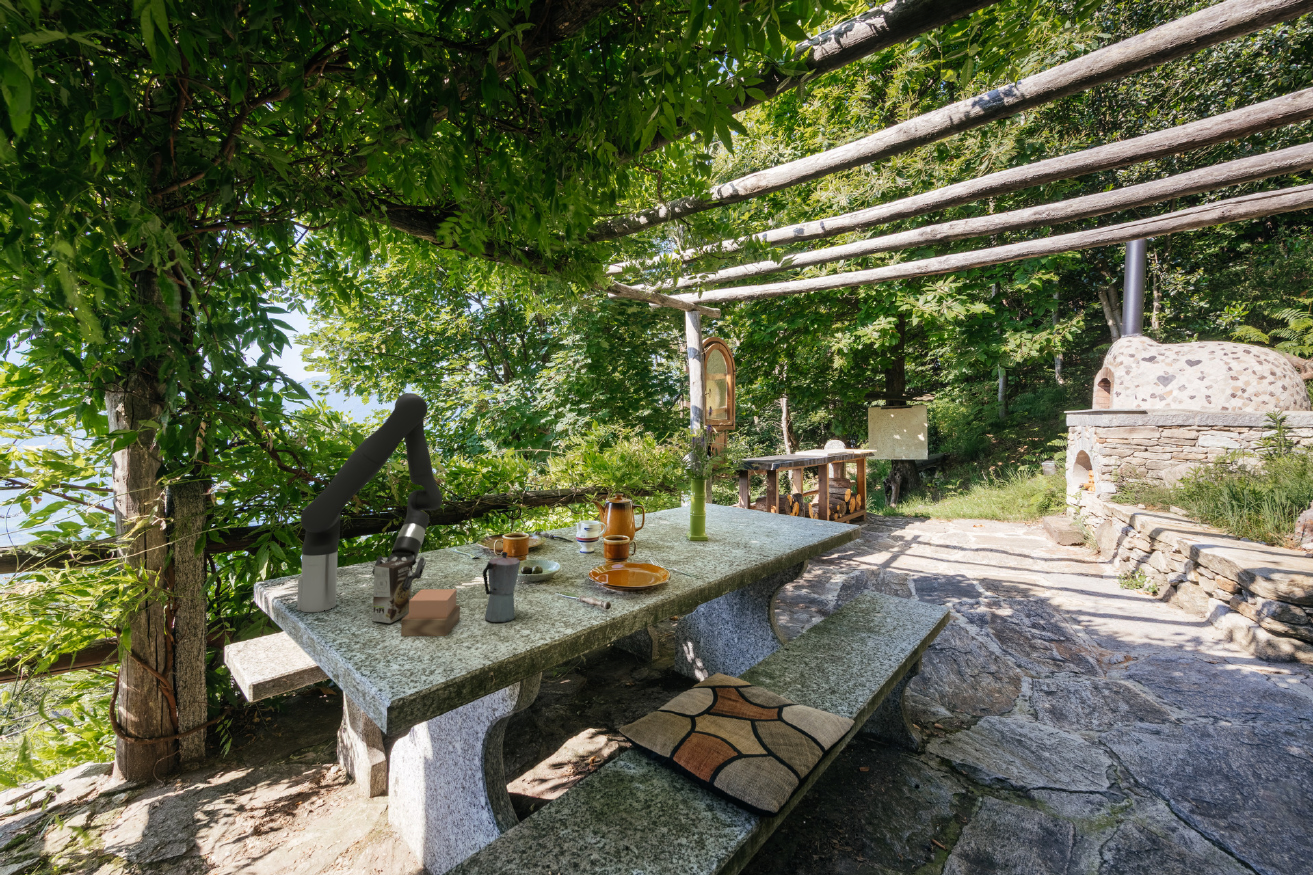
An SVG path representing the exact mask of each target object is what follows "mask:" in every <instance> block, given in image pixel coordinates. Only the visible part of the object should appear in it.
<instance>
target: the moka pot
mask: <svg viewBox="0 0 1313 875" xmlns="http://www.w3.org/2000/svg"><path fill="white" fill-rule="evenodd" d="M501 554H502V557H497V558H491V559H490V560H488V561H487V564H486V567H485V568H484V569H483V571H482V577H483V583H484V589H485V594H486V595H489V596H488V601H487V605H486V610H485V615H484V619H485V620H486V621H488V622H491V623H505V622H509V621H512V620H514V619H515V616H516V615H515V614H516V613H515V597H514V592H515V587H516V585H517V581H518V575H519V570H520V565H521V560H519V558H516V557H508V552H506V551H503V552H502V553H501ZM487 573H488V575H487Z"/></svg>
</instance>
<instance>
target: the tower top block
mask: <svg viewBox="0 0 1313 875" xmlns="http://www.w3.org/2000/svg"><path fill="white" fill-rule="evenodd" d="M456 605H457V589H455V588H454V589H453V588H451V589H450V588H449V589H448V588H445V589H443V588H442V589H439V588H437V589H436V588H435V589H434V588H431V589H430V588H429V589H428V588H426V589H422V588H421V589H420V590H419V591H418V592H416V594H414V595H413V597H412V596H411V599H410V600H409V619H428V618H447V617H448V616H449V615H450V613H451V612H452V611H453V609H454V608H455V607H456Z"/></svg>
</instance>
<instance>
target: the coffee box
mask: <svg viewBox="0 0 1313 875" xmlns="http://www.w3.org/2000/svg"><path fill="white" fill-rule="evenodd" d="M412 565H413V561H410V560H407V561H402V560H397V561H389V562H386V563H383V564H380V565H377V566H375V565H374V566H375V572H374V575H373V576H374V577H373V592H372V593H373V595H372V596H373V598H372V599H373V600H372V618H371V620H372V622H380V623H386V624H392V623H394V622H395V621H398V620H400V619H402V618H404V617H405V616H406V615H407V614H408V613H409V600H410V599H411V598H412V587H413V586H412V585H413V583H412V584H411V586H410V589H409V590H407V591H403V589H402V588H403V585H404V582H405V579H406V577H408V575H407V573H408V571H409V567H410V569H411V571H412V572H413V566H414V565H413V566H412Z"/></svg>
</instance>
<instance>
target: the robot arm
mask: <svg viewBox="0 0 1313 875" xmlns="http://www.w3.org/2000/svg"><path fill="white" fill-rule="evenodd" d="M428 408H429V407H428V404H427V402H426V401H425V399H424V398H422V397H421V396H420V395H418V394H416V393H413V392H412V393H411V392H407V393H406V392H405V393H404V394H401V395H400V396H399V397H398V398H397V399H396V401H395V403H394V408H393V410H392V411H391V414H389V416H388V418H387V419H386V420H385V422H384V423H383V424H382V425H381V426H379V428H378V429H377V430H375V431H374V432H373V433H371V434H370V435H369V436H368V437H367V438H366V439H364V440H363V441H362V442H361V443H360V444H359V445H358V446H357V447H356V448H355V450H354V451H353V452H352V453H351V454H350V455H349V457H348V458H347V459H346V461H345V462H344V463H343V464H342V466H341V467H340V468H339V470H338V471H337V473H336V474H335V476H334V477H333V478H332V480H331V481H330V482H329V484H328V485H327V486H326V487H325V489H324V490H322V491H321V492H320V493H319V494H318V496H316V497H315V499H313V501H311V502H309V504H307V506H305V507H304V508H303V510H302V512H301V514H300V523H301V526H302V527H303V529H305V533H304V534H305V535H304V540H303V544H302V549H301V577H299V578H298V580H297V599H296V600H297V603H296V604H297V605H296V607H297V608H296V610H297V611H301V612H304V613H319V612H325V611H328V610H331V608H332V609H333V608H335V607H337V588H338V587H337V581H338V552H339V551H338V549H339V547H338V546H339V542H340V535H341V533H340V532H341V512H342V511H343V509H344V508H345V506H347V504H348V503H349V501H351V499H352V498H353V497H354V496H355V495H356V494H357V493H358V492H360V490H361V489H363V488H364V487H365V486H366V485H367V484H368V483H369V482H370V481H371V480H372V479H374V477H375V476H376V475H377V474H378V472H380V470H381V469H382V468H383V467H384V465H385V464H386V463H387V462H388V460H389V459H390V458H391V456H392V455H393V454H394V452H396V450H397V448H398V446H399V445H400V443H401V442H402V441H403V440H404V442H405V443H404V444H405V448H406V450H405V451H406V458H407V459H406V460H407V468H408V473H409V478H410V479H409V480H410V482H411V483H412V484H414V485H418V486H421V487H422V488H423V489H415V490H412V491H411V492H410V493H409V495H408V497H407V511H406V517H405V519H404V522H403V524H402V527H401V529H400V530H399V532H398V535H397V537H396V538H395V539H396V540H395V541H394V545H393V547H392V549H391V553H390V555H389V556H388V557H383V556H382V555H379V556H377V559H376V562H375V564H374V566H373V569H372V571H371V573H372V574H373V576H374V572H375V566H377V565H380V564H383V563H386V562H389V561H397V560H402V561H407V560H410V561H413V565H412V567H413V566H414V565H415V564H416V568H415V570H414V572H413V570H412V571H411V569H410V567H409V571H408V573H407V575H408V577H406V579H405V582H404V585H403V588H402V589H403V591H407V590H409V589H410V586H411V584H412V585H413V581H414V580H415V579H419V580H420V579H421V577H422V574H423V572H424V569H425V566H426V560H425V558H424V556H423V557H420V558H417V557H418V555H419V552H420V550H421V548H422V544H423V542H424V539H425V533H426V531H427V528H428V526H429V522H430V516H429V514H427V513H426V512H424V511H435V510H438V509H440V507H441V506H442V504H443V495H442V491H441V489H440V488H439V486H438V484H437V481H436V479H435V477H434V474H433V473H434V472H433V467H432V466H433V465H432V459H431V455H430V451H429V448H428V443H427V439H426V434H425V427H424V425H425V424H424V421H425V420H424V419H425V417H426V416H427V413H428ZM324 610H325V611H324Z"/></svg>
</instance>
